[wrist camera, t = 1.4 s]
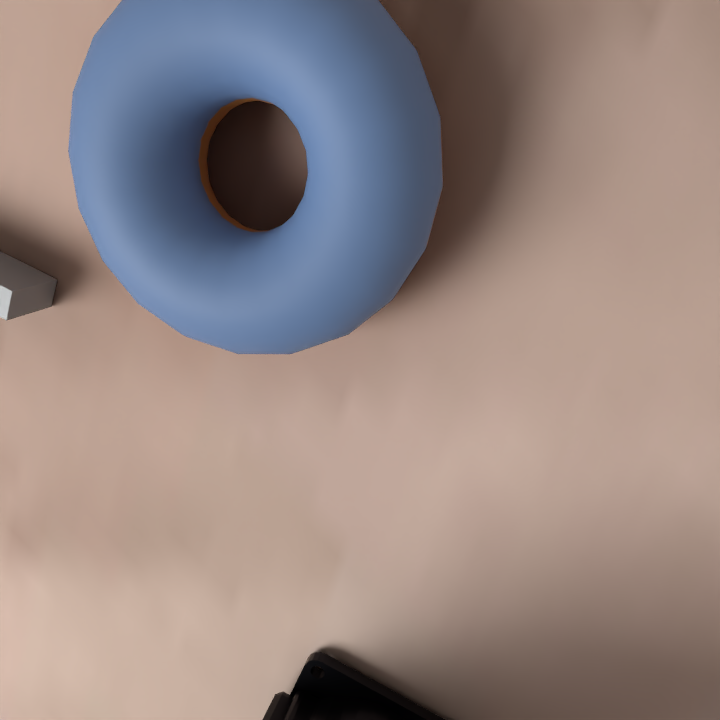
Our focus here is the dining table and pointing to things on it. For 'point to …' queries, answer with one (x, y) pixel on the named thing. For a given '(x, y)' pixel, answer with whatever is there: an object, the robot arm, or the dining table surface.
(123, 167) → the doughnut
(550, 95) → the dining table surface
